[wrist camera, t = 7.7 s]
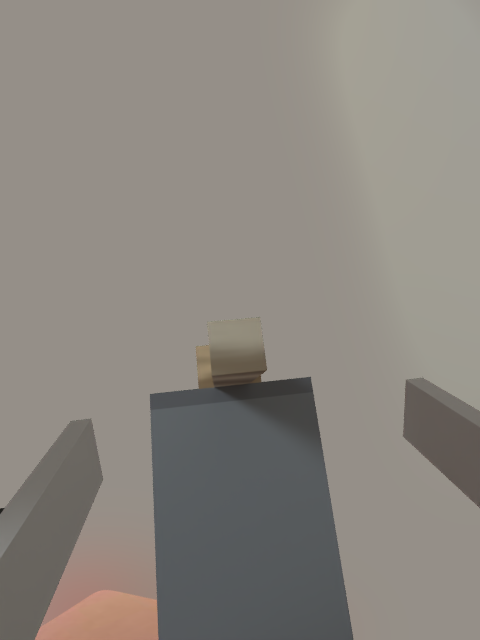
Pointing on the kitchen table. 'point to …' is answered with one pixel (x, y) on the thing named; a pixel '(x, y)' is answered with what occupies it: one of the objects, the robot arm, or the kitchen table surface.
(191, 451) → the lidded box
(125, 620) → the kitchen table surface
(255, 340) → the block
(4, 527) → the robot arm
